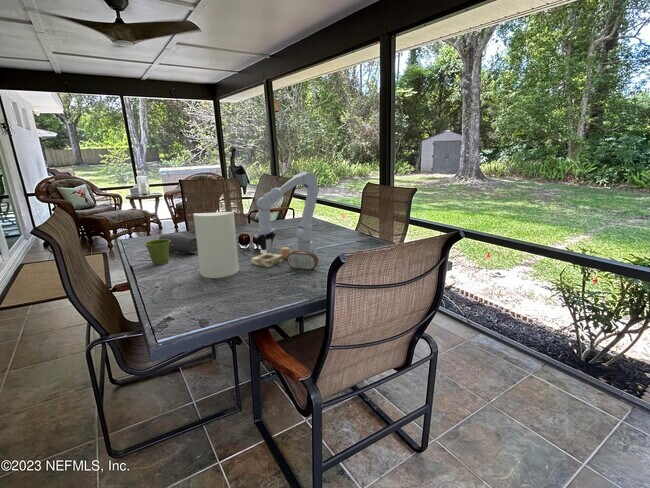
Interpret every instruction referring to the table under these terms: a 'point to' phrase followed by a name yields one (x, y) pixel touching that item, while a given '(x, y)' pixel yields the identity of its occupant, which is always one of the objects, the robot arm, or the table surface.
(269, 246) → the square peg
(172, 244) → the bluetooth speaker
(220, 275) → the cylinder
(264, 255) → the bore block
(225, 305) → the table surface
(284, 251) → the round peg
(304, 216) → the robot arm
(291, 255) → the tin
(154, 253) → the plant pot
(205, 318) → the table surface
